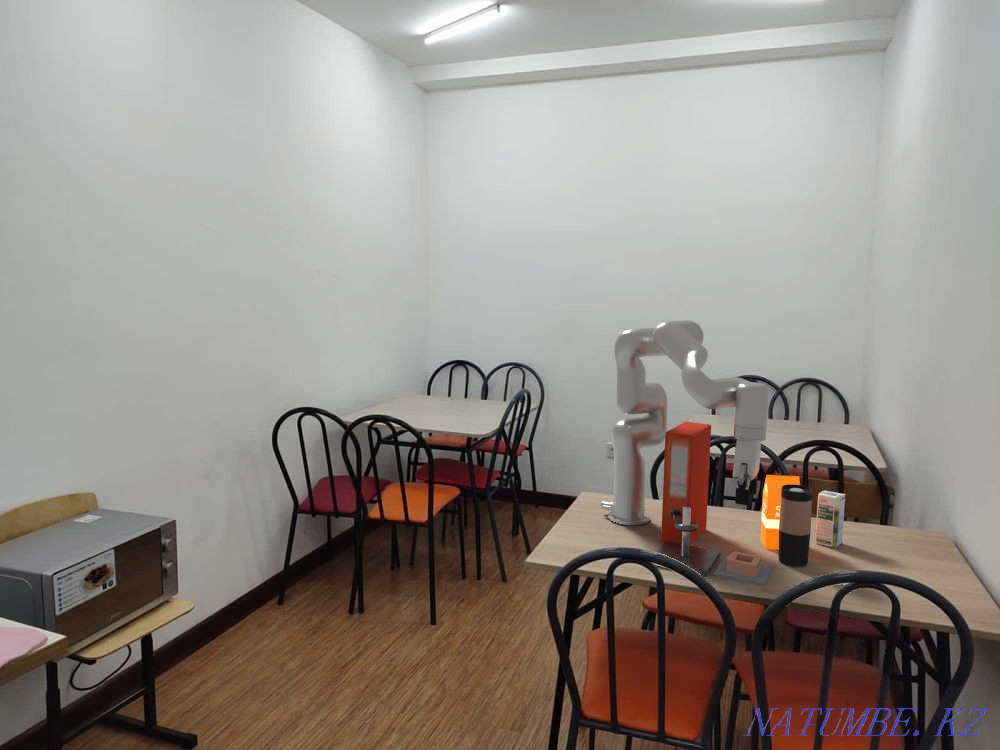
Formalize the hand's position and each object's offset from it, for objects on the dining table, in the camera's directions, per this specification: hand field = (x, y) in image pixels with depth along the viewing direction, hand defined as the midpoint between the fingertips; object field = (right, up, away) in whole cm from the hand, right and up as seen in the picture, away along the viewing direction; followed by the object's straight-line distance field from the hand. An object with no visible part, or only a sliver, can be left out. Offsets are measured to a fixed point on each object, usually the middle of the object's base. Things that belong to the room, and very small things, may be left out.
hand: (745, 498), depth 177 cm
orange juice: (+17, -17, +20) cm, 31 cm away
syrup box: (+31, -17, +21) cm, 41 cm away
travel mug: (+15, -18, +9) cm, 25 cm away
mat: (0, -19, +2) cm, 19 cm away
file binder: (-8, -16, +27) cm, 33 cm away
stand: (-13, -18, +10) cm, 24 cm away
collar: (0, -18, +2) cm, 19 cm away
